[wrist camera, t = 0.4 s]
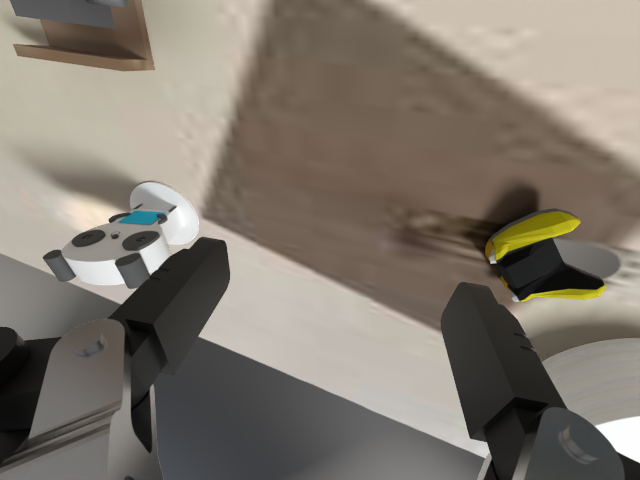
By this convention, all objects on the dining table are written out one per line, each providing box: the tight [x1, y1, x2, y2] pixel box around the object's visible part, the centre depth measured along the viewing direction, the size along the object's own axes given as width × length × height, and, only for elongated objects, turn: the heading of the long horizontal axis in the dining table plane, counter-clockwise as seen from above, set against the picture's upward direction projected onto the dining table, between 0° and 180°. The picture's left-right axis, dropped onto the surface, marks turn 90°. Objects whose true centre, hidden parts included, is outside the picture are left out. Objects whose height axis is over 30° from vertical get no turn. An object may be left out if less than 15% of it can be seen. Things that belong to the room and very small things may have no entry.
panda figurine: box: [43, 182, 199, 289], centre depth 38 cm, size 12×11×15 cm
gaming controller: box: [485, 209, 606, 302], centre depth 36 cm, size 15×6×10 cm
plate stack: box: [541, 338, 640, 463], centre depth 46 cm, size 28×28×12 cm
